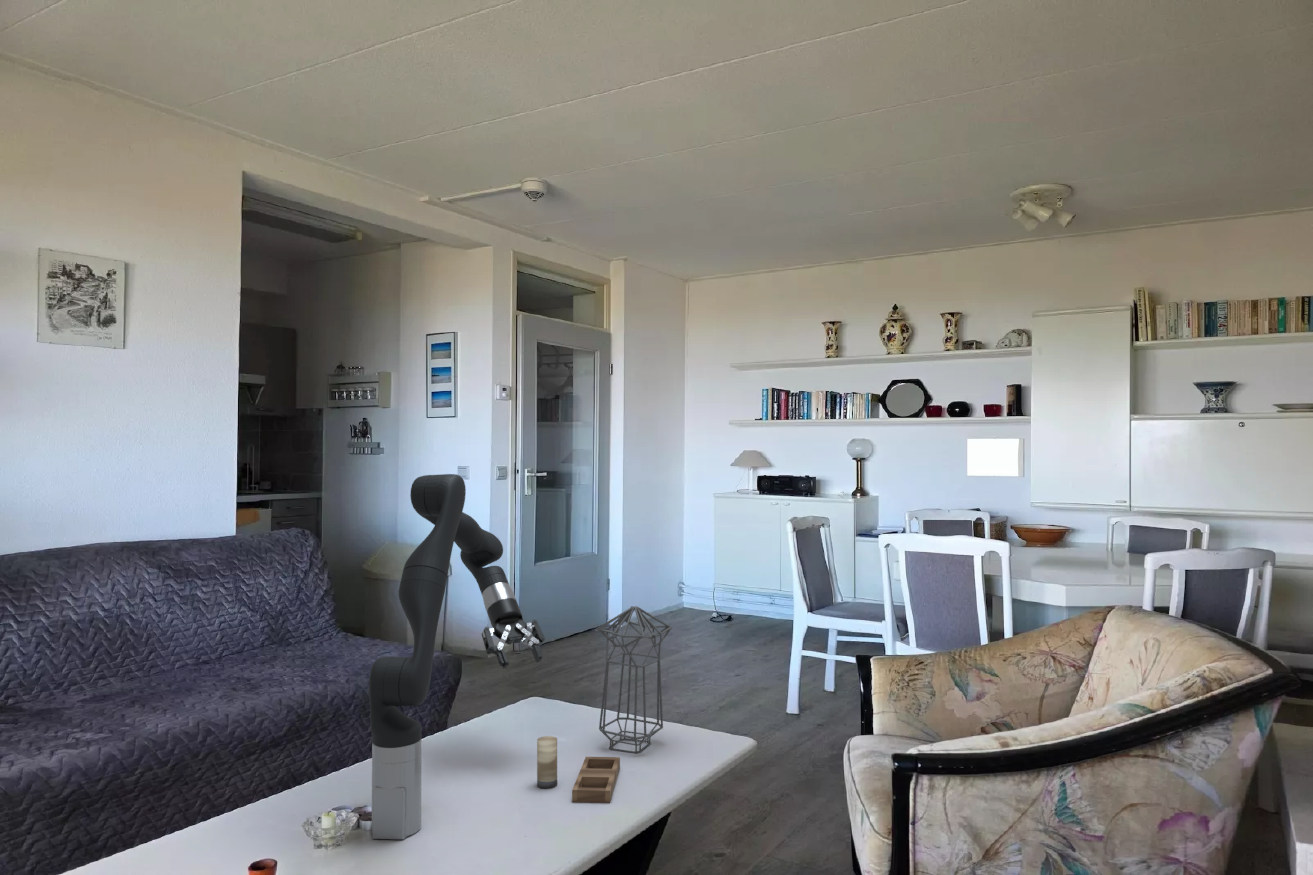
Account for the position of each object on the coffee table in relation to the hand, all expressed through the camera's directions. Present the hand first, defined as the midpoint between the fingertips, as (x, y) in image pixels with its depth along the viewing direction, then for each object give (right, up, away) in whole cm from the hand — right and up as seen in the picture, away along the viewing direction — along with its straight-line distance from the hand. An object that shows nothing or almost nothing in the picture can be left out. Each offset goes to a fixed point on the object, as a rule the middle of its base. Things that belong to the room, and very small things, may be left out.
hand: (523, 663), depth 198 cm
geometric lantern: (+25, -25, +15) cm, 39 cm away
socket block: (+18, -24, -10) cm, 32 cm away
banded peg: (+7, -24, -10) cm, 27 cm away
